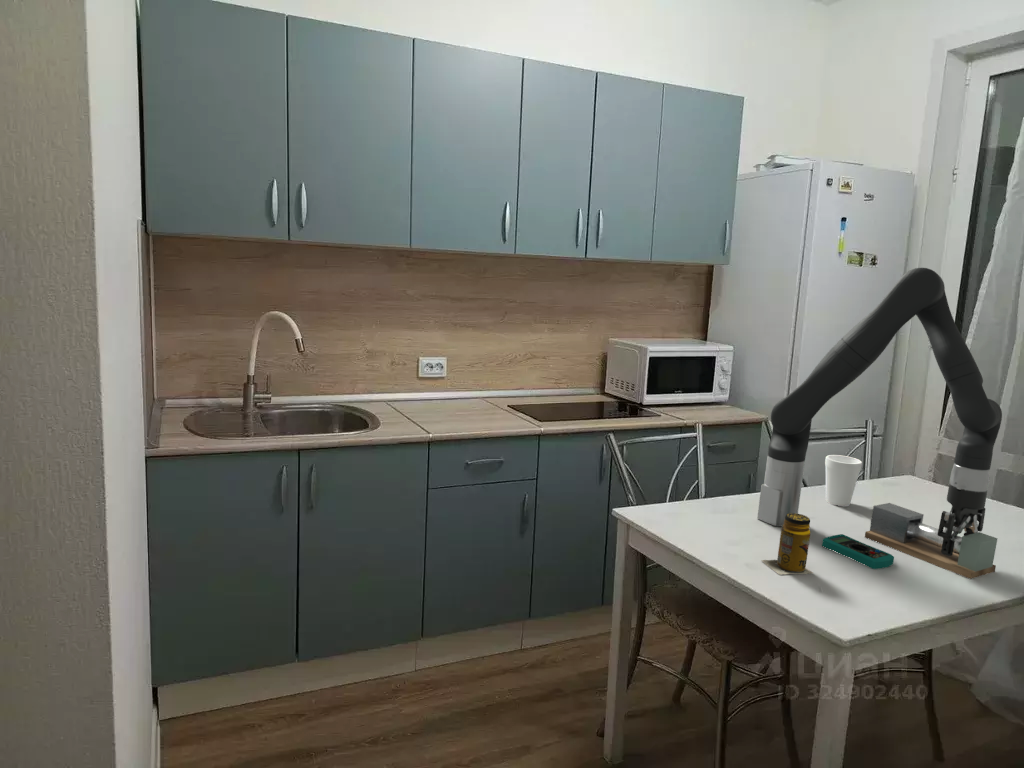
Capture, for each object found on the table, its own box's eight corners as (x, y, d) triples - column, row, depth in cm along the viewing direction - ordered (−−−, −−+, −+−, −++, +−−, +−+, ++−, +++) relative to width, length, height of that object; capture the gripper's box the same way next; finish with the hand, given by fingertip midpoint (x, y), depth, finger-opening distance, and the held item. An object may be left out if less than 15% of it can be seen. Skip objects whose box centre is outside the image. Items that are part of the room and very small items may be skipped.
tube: (974, 562, 164) (977, 546, 164) (894, 533, 180) (897, 517, 180) (983, 560, 166) (986, 543, 166) (904, 530, 182) (906, 515, 182)
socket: (975, 571, 163) (980, 542, 161) (957, 564, 166) (962, 536, 165) (992, 566, 166) (997, 538, 165) (974, 559, 170) (979, 532, 168)
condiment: (813, 573, 160) (820, 521, 158) (779, 575, 158) (786, 522, 156) (794, 560, 167) (800, 510, 165) (760, 561, 165) (767, 511, 163)
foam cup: (813, 497, 214) (819, 455, 212) (840, 496, 217) (846, 454, 215) (834, 508, 205) (840, 464, 203) (862, 507, 208) (869, 463, 205)
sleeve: (903, 543, 177) (907, 517, 176) (869, 530, 185) (873, 505, 184) (919, 539, 180) (923, 514, 179) (885, 527, 188) (889, 502, 187)
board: (970, 579, 162) (971, 572, 162) (864, 537, 184) (865, 531, 184) (994, 571, 167) (995, 565, 167) (888, 531, 189) (889, 526, 189)
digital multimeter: (875, 572, 164) (877, 560, 163) (819, 547, 177) (821, 536, 176) (895, 567, 168) (897, 555, 167) (839, 543, 180) (841, 532, 180)
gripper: (968, 477, 173) (957, 541, 176) (934, 483, 166) (923, 550, 169) (1002, 486, 167) (990, 553, 170) (968, 493, 160) (956, 563, 163)
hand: (956, 551), depth 169 cm, fingers open, 8 cm apart
